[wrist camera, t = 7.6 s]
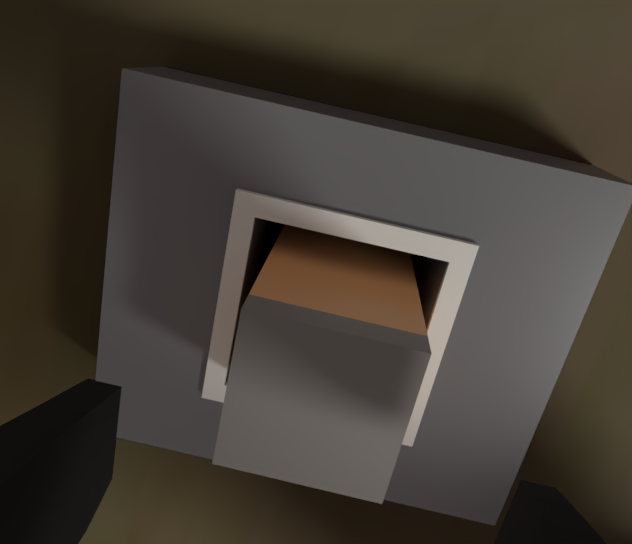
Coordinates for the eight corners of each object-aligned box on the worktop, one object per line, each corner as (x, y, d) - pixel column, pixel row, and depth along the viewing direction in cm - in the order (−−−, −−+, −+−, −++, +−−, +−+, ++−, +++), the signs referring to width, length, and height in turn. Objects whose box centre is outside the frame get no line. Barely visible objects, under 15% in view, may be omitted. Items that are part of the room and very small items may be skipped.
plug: (409, 248, 18) (431, 353, 12) (377, 356, 20) (381, 504, 13) (287, 220, 18) (241, 309, 12) (264, 330, 20) (212, 463, 13)
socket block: (594, 165, 17) (642, 188, 14) (478, 463, 21) (496, 530, 18) (162, 66, 17) (118, 68, 14) (128, 381, 21) (87, 435, 18)
